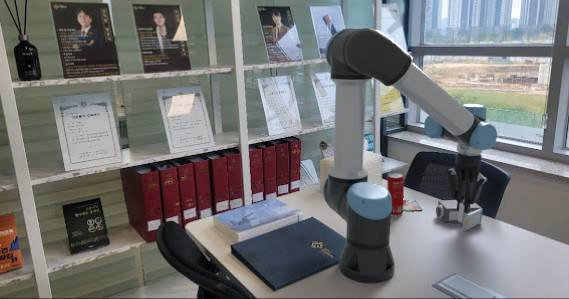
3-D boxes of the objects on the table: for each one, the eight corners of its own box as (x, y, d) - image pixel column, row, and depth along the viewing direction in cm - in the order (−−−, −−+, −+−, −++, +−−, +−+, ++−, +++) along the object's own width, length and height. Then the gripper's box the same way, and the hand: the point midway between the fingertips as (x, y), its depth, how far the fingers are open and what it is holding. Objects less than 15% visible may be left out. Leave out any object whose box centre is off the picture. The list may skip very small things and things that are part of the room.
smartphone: (402, 210, 158) (393, 196, 173) (402, 212, 158) (393, 197, 173) (423, 210, 158) (412, 195, 173) (423, 212, 158) (412, 197, 173)
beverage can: (405, 212, 158) (407, 173, 154) (399, 218, 152) (401, 178, 148) (389, 208, 161) (391, 170, 157) (383, 214, 155) (385, 175, 151)
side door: (465, 231, 141) (467, 217, 139) (461, 230, 142) (463, 216, 140) (482, 222, 147) (484, 209, 146) (478, 221, 148) (480, 208, 147)
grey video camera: (441, 223, 147) (443, 206, 146) (432, 214, 155) (434, 198, 153) (479, 222, 148) (481, 205, 146) (469, 213, 155) (471, 197, 154)
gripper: (444, 150, 140) (438, 217, 146) (482, 159, 130) (474, 230, 136) (456, 147, 144) (450, 212, 150) (495, 154, 134) (486, 224, 140)
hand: (462, 220), depth 143 cm, fingers closed
